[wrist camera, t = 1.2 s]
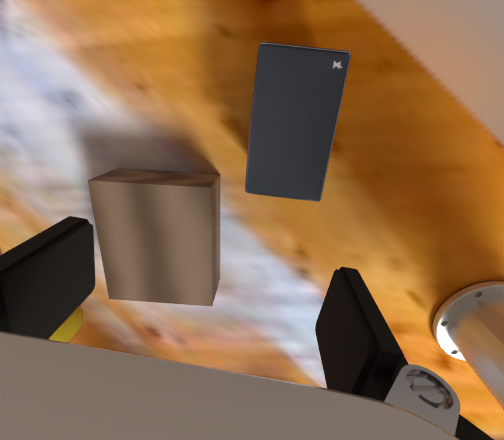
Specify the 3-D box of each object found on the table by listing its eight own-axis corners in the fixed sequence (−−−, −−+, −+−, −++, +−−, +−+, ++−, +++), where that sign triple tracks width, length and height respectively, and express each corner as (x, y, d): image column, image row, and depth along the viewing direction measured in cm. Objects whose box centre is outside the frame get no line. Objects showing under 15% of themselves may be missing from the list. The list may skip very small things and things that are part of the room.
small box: (260, 60, 28) (255, 36, 18) (326, 67, 28) (357, 47, 18) (249, 167, 32) (241, 194, 22) (307, 173, 32) (324, 203, 22)
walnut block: (220, 173, 33) (210, 187, 27) (220, 276, 38) (212, 306, 32) (118, 168, 33) (87, 180, 27) (132, 270, 38) (109, 298, 33)
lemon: (56, 314, 41) (10, 360, 34) (55, 284, 39) (6, 325, 32) (94, 323, 42) (56, 370, 34) (94, 293, 40) (55, 336, 32)
